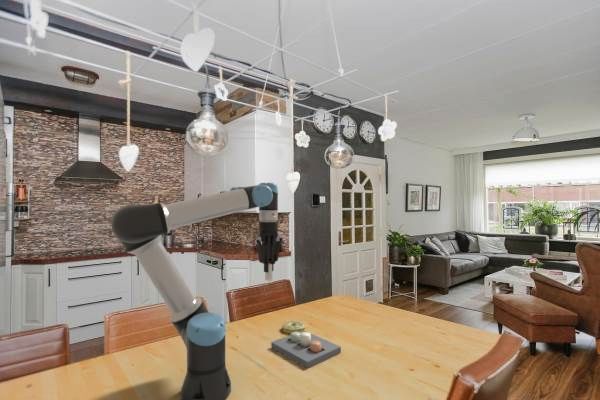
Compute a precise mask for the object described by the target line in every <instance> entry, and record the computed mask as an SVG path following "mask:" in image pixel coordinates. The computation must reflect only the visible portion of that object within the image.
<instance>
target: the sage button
mask: <svg viewBox="0 0 600 400" xmlns="http://www.w3.org/2000/svg"><path fill="white" fill-rule="evenodd" d="M290 335H291V342H293V343H295V344H296V343H298V342H300V332H292V333H291V334H290Z"/></svg>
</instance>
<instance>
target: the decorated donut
mask: <svg viewBox="0 0 600 400" xmlns="http://www.w3.org/2000/svg"><path fill="white" fill-rule="evenodd" d="M305 328H306V326H305V325H304V323H303V322H301V321H298V320H291V321H287V322H284V323H283V324H282V325H281V330H282V331H283V332H284V333H286V334H289V335H291V333H292V332H300V331H303V330H304V331H305Z"/></svg>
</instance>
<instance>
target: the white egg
mask: <svg viewBox="0 0 600 400" xmlns="http://www.w3.org/2000/svg"><path fill="white" fill-rule="evenodd" d="M310 333H311V332H309V333H308V331H306V332H303V333H300V345H301V346H303V347H308V346H310V342H311V334H312V333H311V334H310Z"/></svg>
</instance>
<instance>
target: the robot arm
mask: <svg viewBox="0 0 600 400" xmlns="http://www.w3.org/2000/svg"><path fill="white" fill-rule="evenodd" d="M278 189H279V188H278V184H277V183H275V182H260V183H259V184H256V185H251V186H233V187H231V188H230V190H229V191H224V192H219V193H214V194H211V195H204V196H201V197H200V196H199V197H196V198H191V199H185V200H182V201H181V200H180V201H176V202H172V203H168V204H164V203H163V202H157V203H156V202H155V203H149V204H127V205H125V206H121V207H120V208H118V209H117V210H116V211H115V212H114V214H113V215H112V216H111V217H112V218H111V221H110V222H111V223H110V225H111V230H112V233H113V234H114V237H116V238H117V239H118V240H119V242H120V243H121V245H122V247H123V248H124V250H125V251H126V253H127V254H131V255H135V257H136V258H137V260H138V262H139V264H140V265H141V266H142V268H143V269H144V271H145V273H146V275H147V276H148V278H149V279H150V281H151V283H152V284H153V286H154V287H155V290H157V292H158V293H159V295H160V297H161V298H162V300H163V302H165V304H166V306H167V308H168V309H169V311H170V312H171V315H170V317H169V320H170V322H171V323H172V325H173V327H174V328H175V330H176V332H177V333H178V335H179V336H180V338H181V339H182V342H183V343H184V345H185V348H186V373H185V376H184V379H183V383H182V386H181V388H180V399H181V400H226V399H227V398H228V397H229V396H230V394H231V391H232V382H231V379H230V378H231V377H230V375H229V372H228V370H227V366H226V333H227V329H226V328H227V326H226V321H225V319H224V317H223V316H222V315H221V314H218V313H214V312H210V311H209V309H208V308H207V307H206V305H205V303H204V301H203V300H202V299H201V298H199V297H195V295H194V294H193V293H192V291H191V289H190V288H189V285H188V284H187V282H186V281H185V279H184V277H183V276H182V274H181V273H180V271H179V269H178V268H177V266H176V264H175V262H174V261H173V259H172V258H171V256H170V254H169V252H168V251H167V250H166V247H165V246H164V245H163V242H162V241H161V240H162V236H163V235H166V234H169V233H170V232H171V230H173V229H176V228H180V227H185V226H188V225H193V224H195V223H200V222H205V221H208V220H212V219H215V218H219V217H224V216H228V215H231V214H235V213H239V212H244V211H246V210H251V209H255V208H258V219H259V220H258V221H260V222H258V224H259V225H258V229H259V234H258V236H257V238H255V239H253V243H254V244H255V247H256V251H257V257H258V262H259V263H261V264H263V272H264V273H265V275H264V276H265V281H268V282H271V281H273V272H274V265H275V264H276V262H278V260H279V255H280V250H281V244H282V243H283V239H284V238H283V237H280V236H279V234H278V231H279V222H278V220H279V219H278V218H279V215H278V214H279V213H278V212H279V210H278V209H279V205H278V204H279V198H278V197H279V192H278V191H279V190H278Z"/></svg>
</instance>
